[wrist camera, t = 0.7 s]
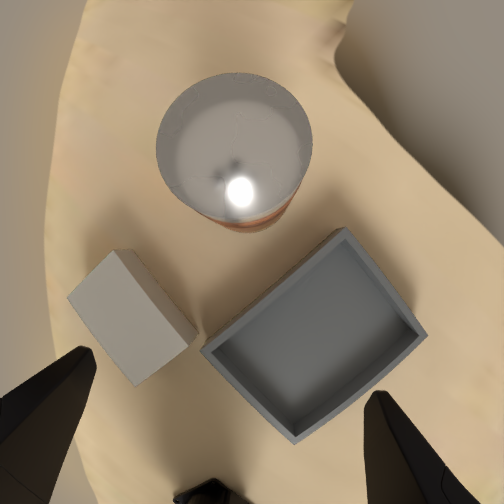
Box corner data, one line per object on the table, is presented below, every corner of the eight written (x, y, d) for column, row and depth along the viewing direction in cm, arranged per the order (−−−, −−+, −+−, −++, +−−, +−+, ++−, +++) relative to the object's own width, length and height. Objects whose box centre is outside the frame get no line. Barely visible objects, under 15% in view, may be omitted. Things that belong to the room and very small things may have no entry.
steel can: (243, 251, 26) (223, 254, 13) (190, 189, 26) (127, 139, 13) (306, 196, 26) (346, 148, 13) (252, 136, 26) (242, 48, 13)
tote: (291, 427, 26) (294, 445, 23) (206, 340, 26) (199, 351, 23) (413, 327, 25) (428, 335, 22) (336, 228, 26) (346, 226, 23)
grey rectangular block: (151, 370, 27) (135, 387, 23) (90, 291, 27) (66, 297, 23) (199, 332, 26) (189, 346, 22) (133, 249, 26) (113, 249, 22)
